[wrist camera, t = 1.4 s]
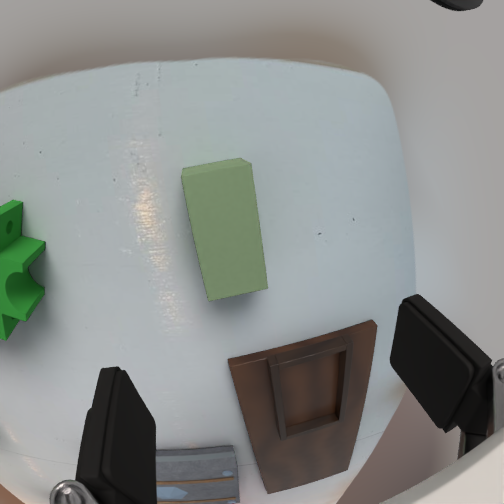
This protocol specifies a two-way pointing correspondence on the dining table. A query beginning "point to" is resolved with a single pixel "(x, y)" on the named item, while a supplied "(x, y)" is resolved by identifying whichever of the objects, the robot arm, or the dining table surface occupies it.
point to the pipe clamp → (16, 270)
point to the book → (197, 476)
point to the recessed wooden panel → (305, 404)
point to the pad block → (225, 227)
